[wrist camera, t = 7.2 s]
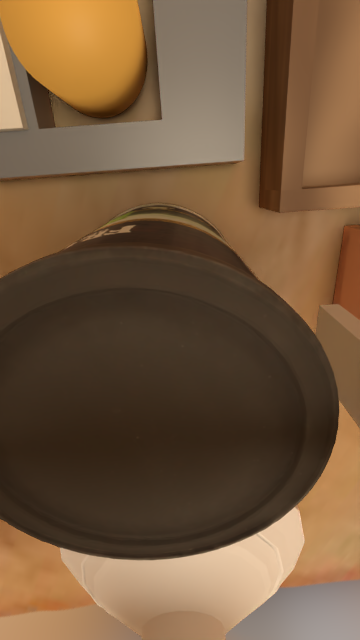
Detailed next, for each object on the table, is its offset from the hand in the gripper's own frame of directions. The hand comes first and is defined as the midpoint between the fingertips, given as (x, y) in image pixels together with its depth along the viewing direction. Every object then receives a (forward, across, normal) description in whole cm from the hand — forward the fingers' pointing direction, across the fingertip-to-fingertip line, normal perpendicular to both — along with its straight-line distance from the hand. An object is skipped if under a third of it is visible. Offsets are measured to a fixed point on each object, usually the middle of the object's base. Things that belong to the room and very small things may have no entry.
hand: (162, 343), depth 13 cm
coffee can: (+9, -1, 0) cm, 9 cm away
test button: (+7, -3, +12) cm, 14 cm away
